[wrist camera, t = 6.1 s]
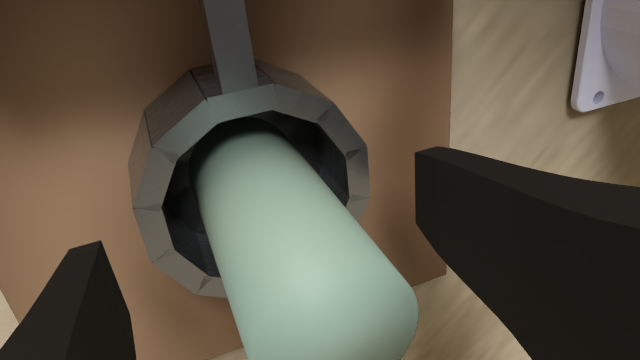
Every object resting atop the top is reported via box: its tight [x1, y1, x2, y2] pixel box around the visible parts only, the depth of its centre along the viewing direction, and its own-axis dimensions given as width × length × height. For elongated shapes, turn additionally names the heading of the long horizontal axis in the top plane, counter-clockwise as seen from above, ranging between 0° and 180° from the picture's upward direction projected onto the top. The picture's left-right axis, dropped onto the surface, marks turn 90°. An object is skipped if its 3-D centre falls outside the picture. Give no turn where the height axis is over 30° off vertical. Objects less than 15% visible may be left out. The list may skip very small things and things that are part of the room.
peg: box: [188, 117, 419, 360], centre depth 11 cm, size 3×3×7 cm
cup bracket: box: [0, 0, 453, 360], centre depth 13 cm, size 14×14×5 cm
